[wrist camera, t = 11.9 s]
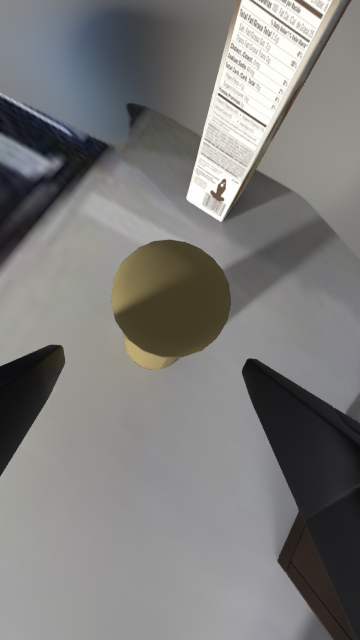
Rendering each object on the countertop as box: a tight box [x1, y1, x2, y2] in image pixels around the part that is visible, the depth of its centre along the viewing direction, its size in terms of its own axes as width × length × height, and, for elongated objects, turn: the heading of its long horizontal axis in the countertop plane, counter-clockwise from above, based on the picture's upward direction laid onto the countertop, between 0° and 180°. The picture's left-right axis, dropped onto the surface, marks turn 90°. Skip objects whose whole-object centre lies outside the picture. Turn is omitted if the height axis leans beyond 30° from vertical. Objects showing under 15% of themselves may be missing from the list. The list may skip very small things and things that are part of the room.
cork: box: [111, 240, 231, 369], centre depth 11 cm, size 6×6×11 cm
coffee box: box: [187, 0, 351, 222], centre depth 17 cm, size 9×6×16 cm
